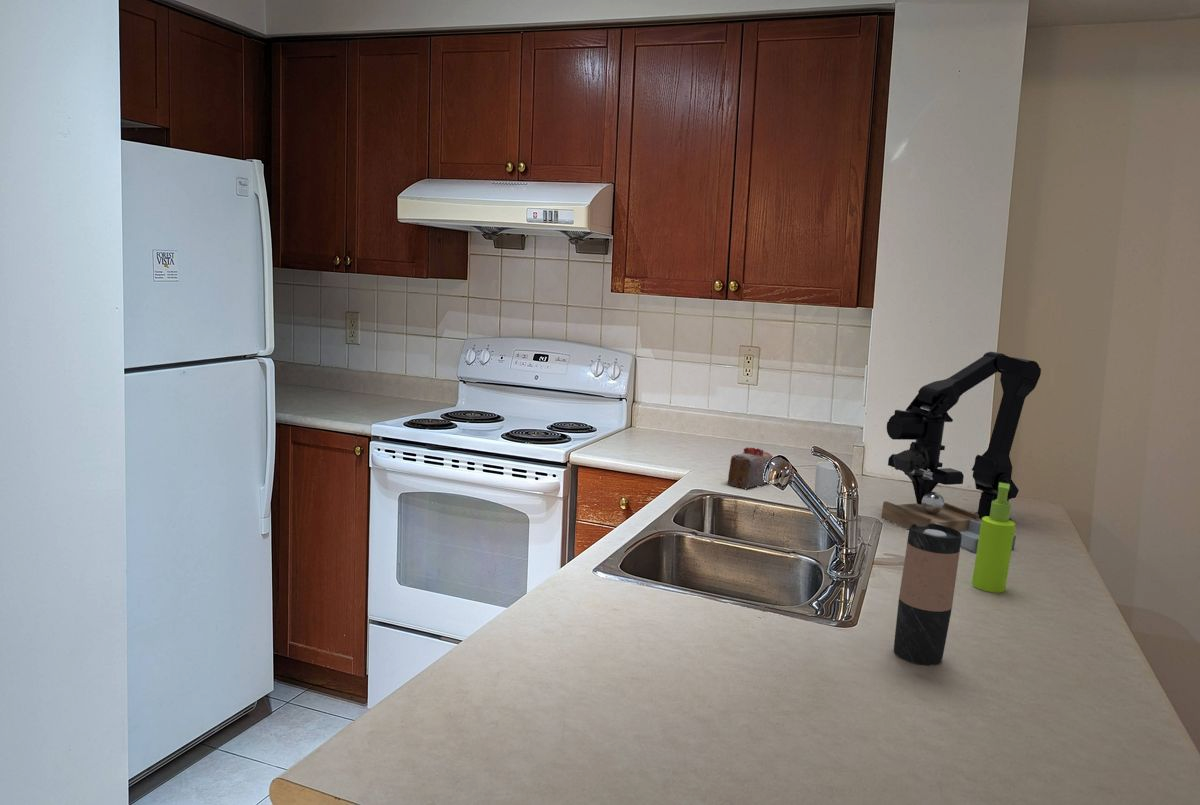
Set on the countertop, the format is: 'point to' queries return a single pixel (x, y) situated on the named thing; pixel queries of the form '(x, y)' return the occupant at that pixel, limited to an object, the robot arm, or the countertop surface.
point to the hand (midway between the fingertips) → (919, 504)
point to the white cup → (826, 483)
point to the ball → (933, 502)
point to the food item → (748, 468)
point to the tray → (973, 537)
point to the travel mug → (926, 593)
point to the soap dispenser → (994, 545)
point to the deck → (928, 516)
